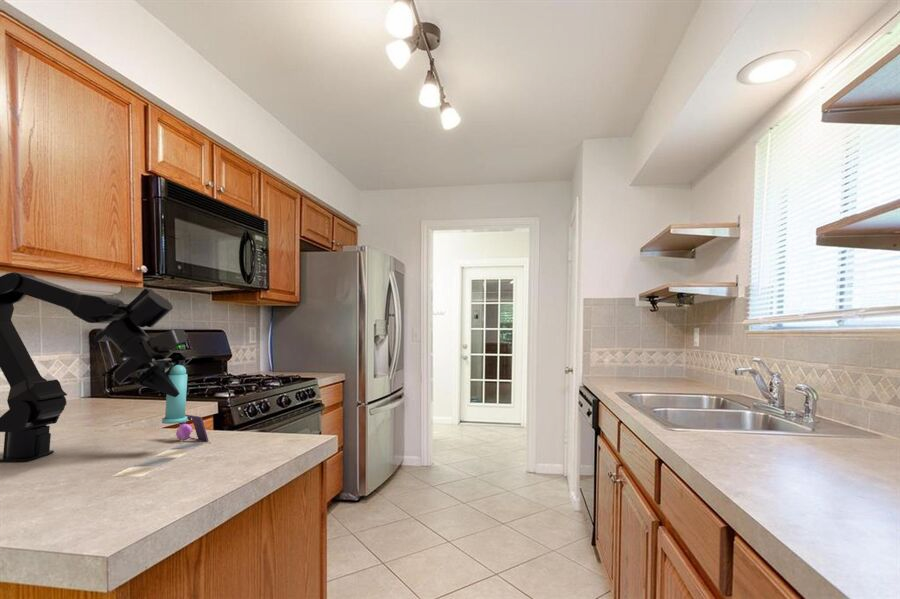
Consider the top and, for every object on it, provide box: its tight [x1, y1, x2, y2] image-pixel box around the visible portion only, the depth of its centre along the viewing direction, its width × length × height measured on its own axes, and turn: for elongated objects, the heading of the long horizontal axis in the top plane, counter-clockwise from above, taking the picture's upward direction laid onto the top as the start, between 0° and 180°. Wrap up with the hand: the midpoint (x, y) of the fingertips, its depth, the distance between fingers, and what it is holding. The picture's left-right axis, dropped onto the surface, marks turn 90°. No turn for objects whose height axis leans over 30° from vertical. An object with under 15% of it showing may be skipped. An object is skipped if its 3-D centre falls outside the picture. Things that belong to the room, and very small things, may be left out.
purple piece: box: [175, 414, 210, 442], centre depth 103 cm, size 7×5×9 cm
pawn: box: [161, 365, 188, 425], centre depth 92 cm, size 5×5×12 cm
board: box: [110, 441, 212, 478], centre depth 88 cm, size 8×26×1 cm, turn 3°
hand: (182, 394), depth 92 cm, fingers closed on pawn, 4 cm apart
